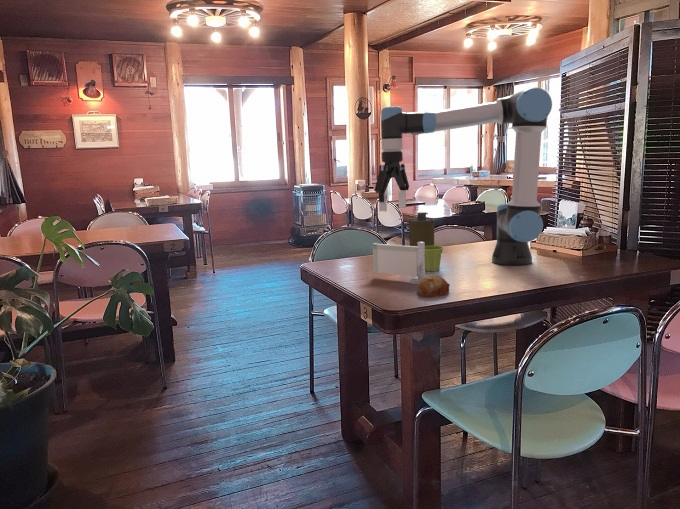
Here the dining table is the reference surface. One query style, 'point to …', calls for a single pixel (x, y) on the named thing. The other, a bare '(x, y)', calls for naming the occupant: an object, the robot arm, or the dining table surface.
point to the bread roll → (433, 286)
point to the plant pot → (432, 257)
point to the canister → (421, 230)
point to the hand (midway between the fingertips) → (392, 209)
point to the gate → (395, 259)
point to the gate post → (420, 263)
